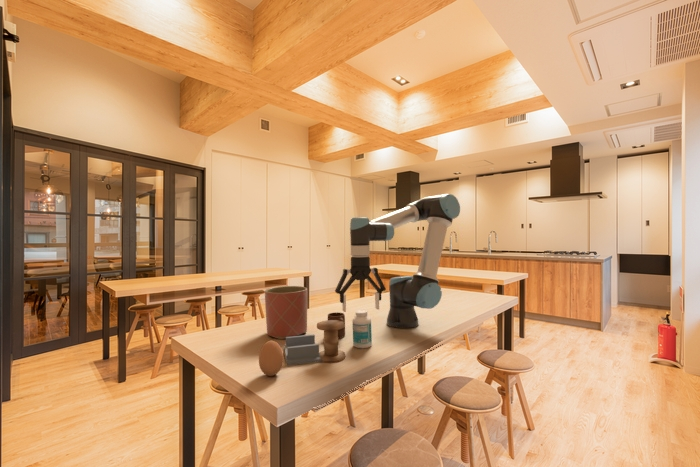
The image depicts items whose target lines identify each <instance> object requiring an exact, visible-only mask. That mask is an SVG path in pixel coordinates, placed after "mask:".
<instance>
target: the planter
mask: <svg viewBox="0 0 700 467" xmlns="http://www.w3.org/2000/svg"><path fill="white" fill-rule="evenodd" d="M264 302H265V303H264V306H265V307H264V308H265V319H266V321H265V322H266V324H265V325H266V333H267V335H268V336H269V337H273V338H276V339H278V340H282V341H283V340H286V337H292V336H301V335H303V334H304V335H307V331H308V287H305V286H300V285H288V286H287V285H286V286H285V285H284V286H277V287H276V286H275V287H270V288H266V289H265V290H264Z"/></svg>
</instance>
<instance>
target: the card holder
mask: <svg viewBox="0 0 700 467" xmlns="http://www.w3.org/2000/svg"><path fill="white" fill-rule="evenodd" d="M315 336H316V335H315V333H313V334H304V335H303V334H301V335H296V336H290V337H286V338H285V344H284V353H285V361H286V367H287V366H289V367H290V366H297V365H305V364H313V363H321V362H322V359H321V356H320V355H319V354H320V353H319V352H320V344H319V343H316V340H315ZM318 356H319V357H318ZM322 363H323V362H322Z"/></svg>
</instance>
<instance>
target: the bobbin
mask: <svg viewBox="0 0 700 467" xmlns="http://www.w3.org/2000/svg"><path fill="white" fill-rule="evenodd" d="M344 326H345V327H346V323H345V324H344V322H342V321H338V320H328V319H327V320H322V321H318V322H317V323H316V328H317V329H318V330H320V331H323V345H324V346H323V347H324V349H323V350H322V351H319V353H320V354H319V355H320V356H321V359H322V363H327V364H328V363H329V364H331V363H332V364H333V363H339V362H341V361H343V360H344V359H345V358H346V352H345V351H343V350H341V349H339V338H338V330H339V329H342V328H344ZM318 357H319V356H318Z"/></svg>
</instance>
